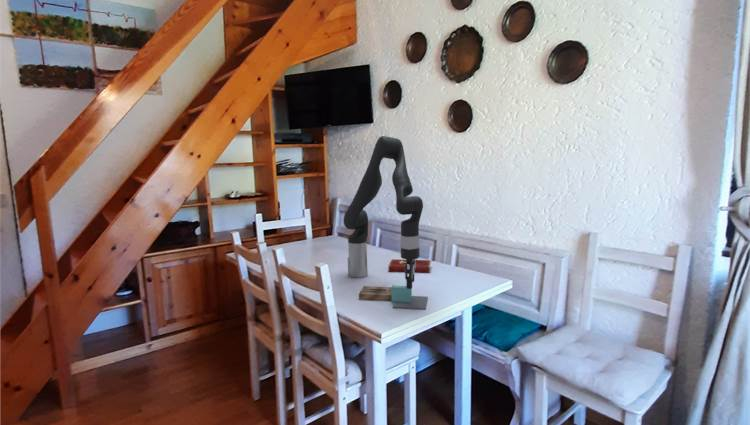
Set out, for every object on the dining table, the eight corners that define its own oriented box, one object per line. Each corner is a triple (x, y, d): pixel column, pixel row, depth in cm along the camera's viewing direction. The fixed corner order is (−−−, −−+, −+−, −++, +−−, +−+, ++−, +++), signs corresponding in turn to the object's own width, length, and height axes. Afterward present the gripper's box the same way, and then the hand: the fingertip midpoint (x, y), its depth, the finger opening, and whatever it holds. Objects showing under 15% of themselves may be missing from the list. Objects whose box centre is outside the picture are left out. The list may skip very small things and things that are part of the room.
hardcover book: (429, 274, 208) (429, 266, 208) (388, 272, 212) (388, 264, 212) (430, 267, 220) (430, 259, 219) (391, 266, 224) (391, 258, 223)
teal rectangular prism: (411, 302, 168) (391, 301, 170) (411, 300, 170) (392, 299, 172) (410, 288, 167) (391, 287, 169) (411, 286, 169) (392, 285, 171)
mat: (392, 308, 164) (392, 306, 164) (397, 296, 177) (397, 295, 177) (425, 309, 162) (425, 308, 161) (427, 297, 174) (427, 296, 174)
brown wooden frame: (358, 299, 174) (358, 292, 174) (364, 291, 184) (363, 284, 184) (391, 301, 172) (391, 293, 171) (395, 292, 181) (395, 286, 181)
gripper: (402, 241, 173) (403, 279, 176) (398, 250, 159) (399, 290, 162) (420, 242, 172) (421, 279, 174) (417, 250, 158) (418, 291, 160)
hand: (410, 285), depth 168 cm, fingers open, 8 cm apart
